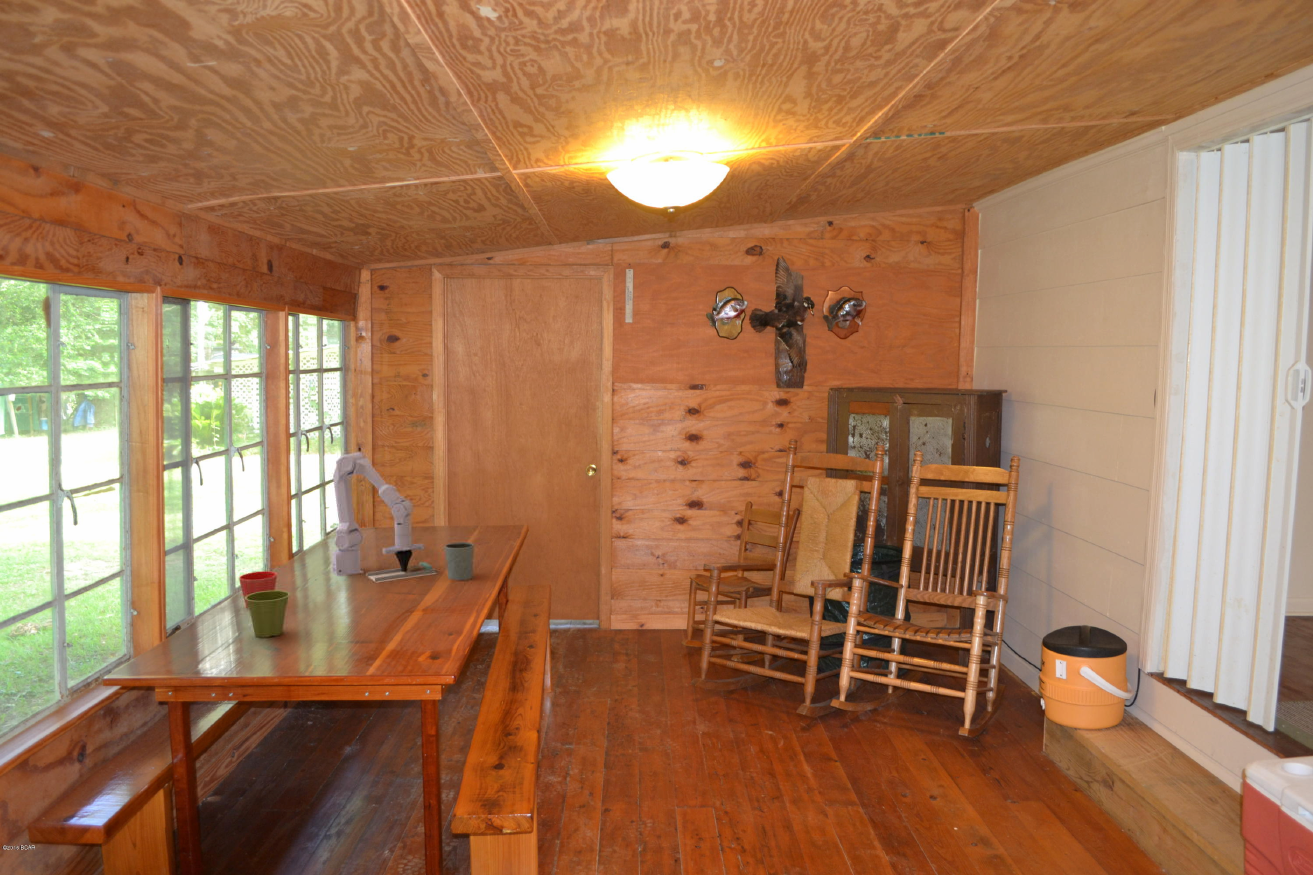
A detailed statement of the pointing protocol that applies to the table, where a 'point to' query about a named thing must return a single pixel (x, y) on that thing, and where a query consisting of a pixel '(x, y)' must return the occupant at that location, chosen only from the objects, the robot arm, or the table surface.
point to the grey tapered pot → (459, 560)
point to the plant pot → (268, 612)
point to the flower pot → (257, 583)
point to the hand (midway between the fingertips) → (404, 571)
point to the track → (399, 573)
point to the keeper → (415, 568)
